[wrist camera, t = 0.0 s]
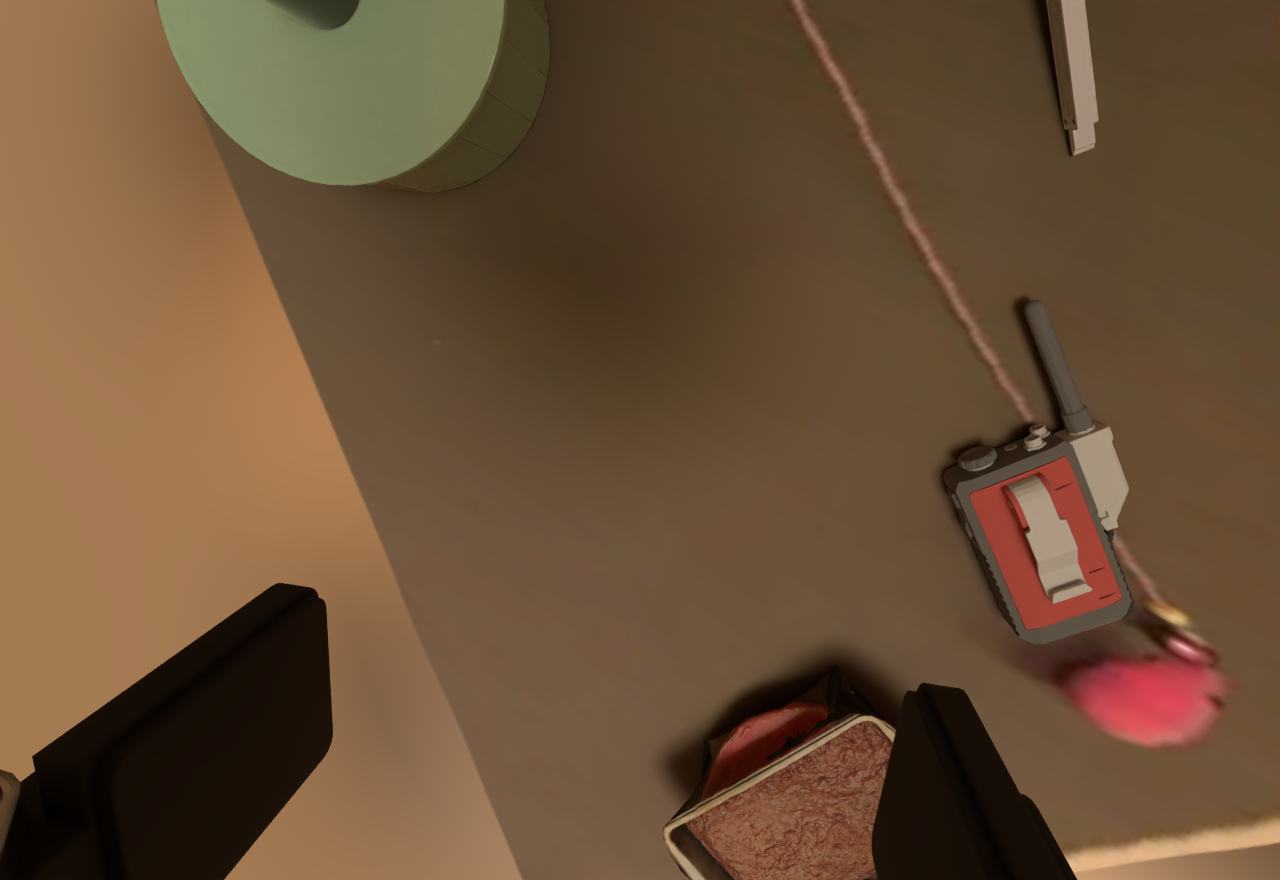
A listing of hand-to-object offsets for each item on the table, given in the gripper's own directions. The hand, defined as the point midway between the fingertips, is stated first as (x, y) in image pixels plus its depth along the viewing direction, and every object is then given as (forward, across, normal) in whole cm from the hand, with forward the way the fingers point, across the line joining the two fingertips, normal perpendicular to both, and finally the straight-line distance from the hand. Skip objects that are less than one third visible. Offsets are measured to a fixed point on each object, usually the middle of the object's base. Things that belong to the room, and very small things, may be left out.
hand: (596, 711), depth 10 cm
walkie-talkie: (+31, -20, +4) cm, 37 cm away
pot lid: (+23, +18, -17) cm, 34 cm away
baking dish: (+31, -11, +27) cm, 43 cm away
